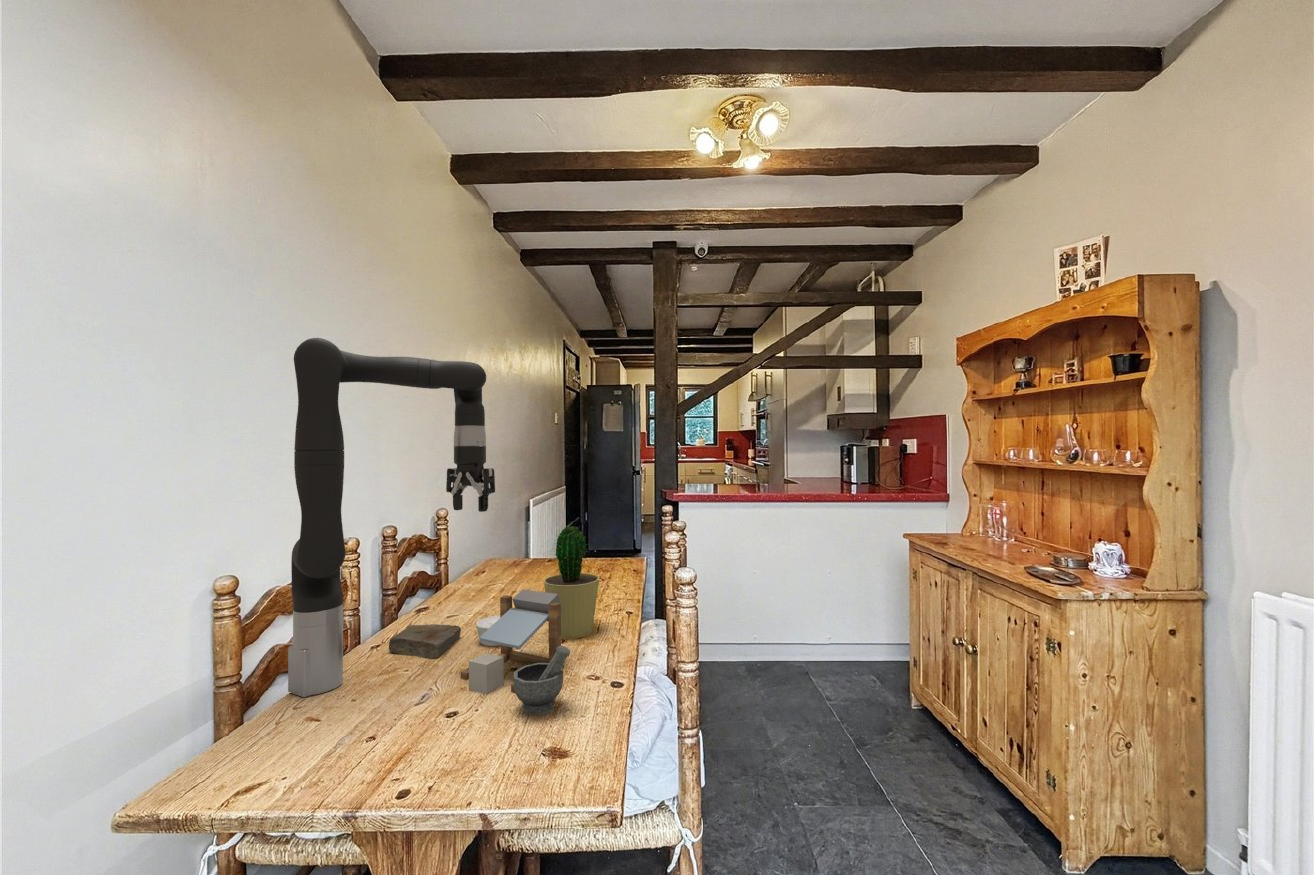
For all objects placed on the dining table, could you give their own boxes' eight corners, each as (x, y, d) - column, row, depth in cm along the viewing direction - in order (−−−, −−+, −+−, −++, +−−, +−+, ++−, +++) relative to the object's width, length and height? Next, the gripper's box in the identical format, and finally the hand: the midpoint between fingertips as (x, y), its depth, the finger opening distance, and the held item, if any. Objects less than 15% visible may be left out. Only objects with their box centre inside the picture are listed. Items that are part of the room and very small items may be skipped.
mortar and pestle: (505, 719, 101) (505, 654, 101) (522, 696, 110) (521, 637, 110) (564, 720, 100) (564, 655, 100) (576, 697, 109) (575, 638, 110)
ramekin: (467, 645, 140) (467, 625, 141) (493, 632, 151) (493, 613, 151) (503, 650, 137) (503, 629, 137) (527, 636, 147) (527, 616, 148)
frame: (518, 693, 112) (517, 620, 112) (460, 678, 120) (460, 610, 120) (563, 667, 125) (562, 602, 125) (508, 655, 133) (508, 594, 133)
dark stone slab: (438, 660, 131) (437, 643, 132) (379, 660, 132) (379, 643, 132) (465, 636, 148) (465, 621, 148) (413, 637, 149) (413, 621, 149)
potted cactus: (576, 645, 139) (575, 529, 140) (532, 636, 147) (531, 526, 148) (610, 628, 152) (609, 522, 153) (568, 620, 160) (567, 519, 161)
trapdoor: (522, 657, 116) (516, 638, 115) (482, 648, 122) (475, 630, 121) (564, 612, 130) (559, 594, 128) (526, 605, 135) (521, 589, 134)
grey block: (503, 656, 116) (503, 684, 116) (486, 653, 119) (486, 680, 118) (486, 665, 112) (486, 694, 112) (468, 661, 114) (469, 689, 114)
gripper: (437, 445, 132) (437, 511, 132) (479, 444, 125) (479, 513, 125) (461, 445, 139) (462, 508, 138) (502, 444, 132) (503, 510, 132)
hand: (470, 510), depth 132 cm, fingers open, 8 cm apart
